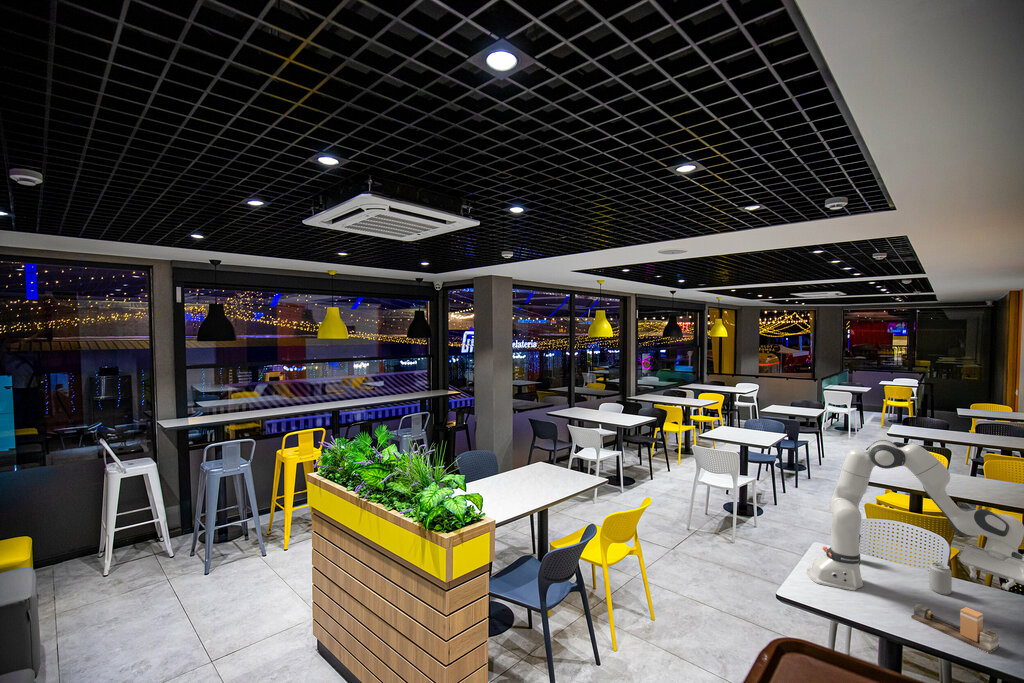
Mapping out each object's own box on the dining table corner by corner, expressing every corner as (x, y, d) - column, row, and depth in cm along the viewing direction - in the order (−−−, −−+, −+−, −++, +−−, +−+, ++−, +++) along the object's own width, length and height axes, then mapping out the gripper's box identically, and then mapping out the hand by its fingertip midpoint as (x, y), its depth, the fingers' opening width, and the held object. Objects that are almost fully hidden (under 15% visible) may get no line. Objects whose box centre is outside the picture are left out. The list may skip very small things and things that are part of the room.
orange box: (960, 634, 182) (960, 609, 182) (965, 631, 184) (966, 606, 184) (977, 642, 177) (977, 616, 177) (982, 638, 179) (983, 613, 179)
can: (942, 587, 218) (942, 561, 218) (956, 596, 211) (956, 569, 210) (925, 586, 219) (925, 560, 218) (938, 595, 211) (938, 568, 211)
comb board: (911, 617, 195) (911, 604, 195) (921, 612, 198) (921, 599, 198) (988, 653, 173) (989, 638, 173) (999, 647, 176) (999, 632, 176)
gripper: (963, 538, 198) (951, 567, 194) (1032, 559, 179) (1021, 591, 175) (968, 547, 200) (957, 575, 196) (1037, 568, 181) (1026, 600, 177)
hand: (988, 583), depth 185 cm, fingers open, 8 cm apart
